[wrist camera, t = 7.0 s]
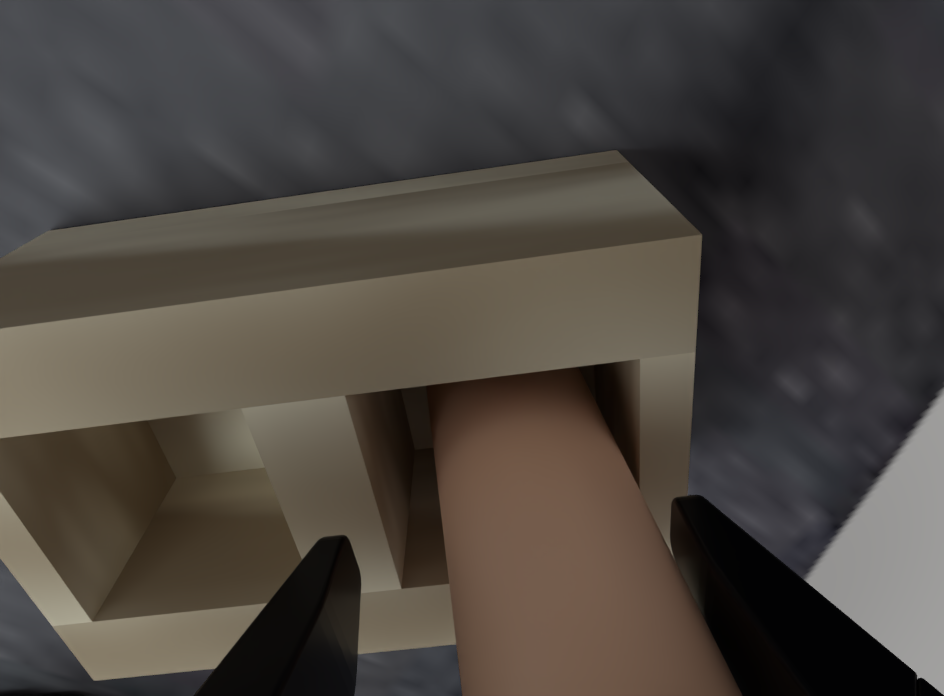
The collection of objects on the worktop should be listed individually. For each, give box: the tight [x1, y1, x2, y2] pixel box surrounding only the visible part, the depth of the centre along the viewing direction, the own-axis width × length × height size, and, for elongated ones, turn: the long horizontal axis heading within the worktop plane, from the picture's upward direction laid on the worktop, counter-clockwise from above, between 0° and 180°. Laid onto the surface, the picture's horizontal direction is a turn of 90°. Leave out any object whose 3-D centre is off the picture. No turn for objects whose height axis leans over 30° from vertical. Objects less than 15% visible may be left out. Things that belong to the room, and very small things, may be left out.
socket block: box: [0, 150, 702, 681], centre depth 12 cm, size 8×12×5 cm, turn 98°
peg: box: [426, 367, 743, 696], centre depth 10 cm, size 3×3×8 cm
